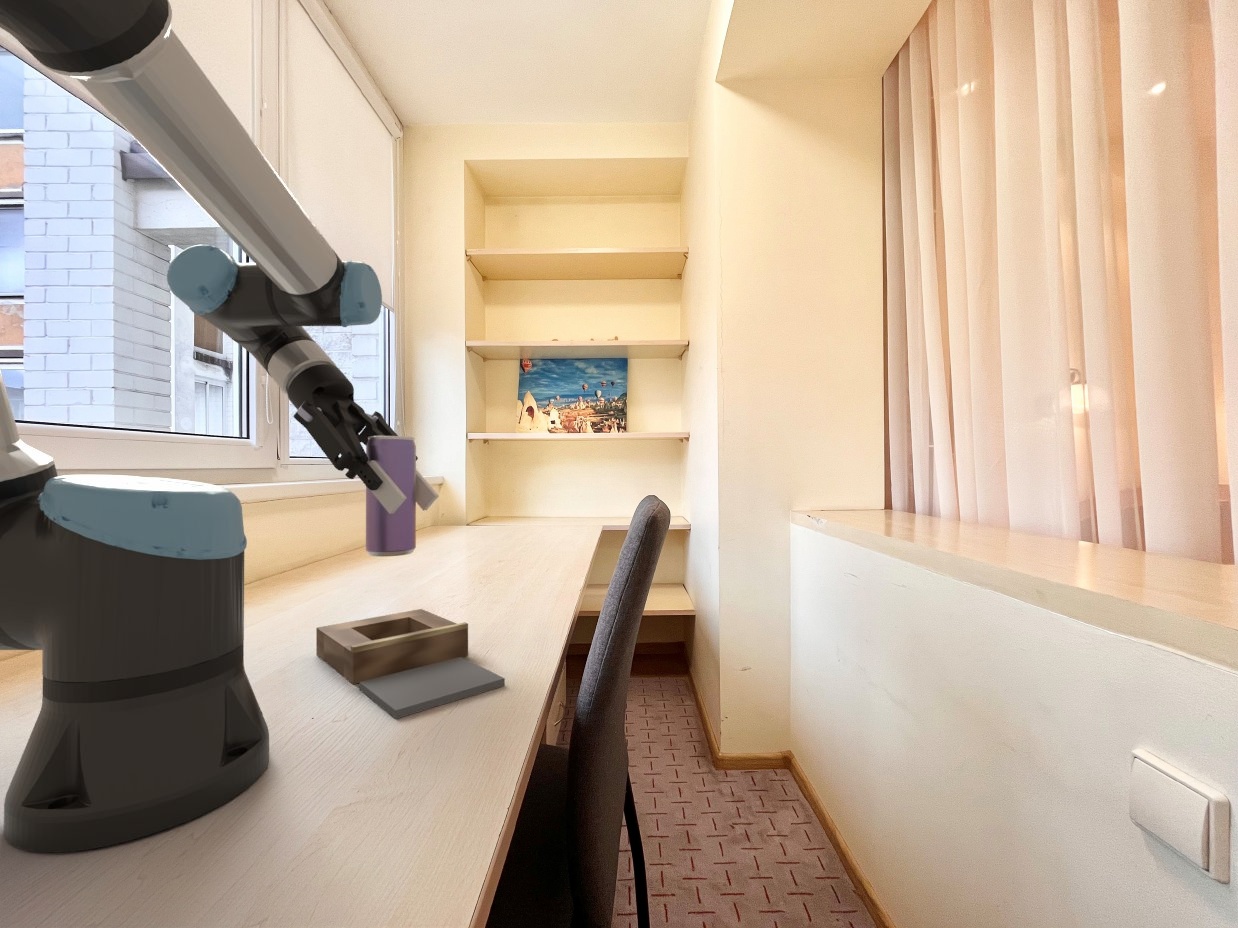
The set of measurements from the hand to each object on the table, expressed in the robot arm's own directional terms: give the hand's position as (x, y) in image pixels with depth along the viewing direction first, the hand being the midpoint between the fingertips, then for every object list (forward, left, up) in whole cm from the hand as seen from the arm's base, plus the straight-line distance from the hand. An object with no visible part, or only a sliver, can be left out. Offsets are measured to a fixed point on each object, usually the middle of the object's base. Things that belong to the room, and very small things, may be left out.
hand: (415, 504), depth 72 cm
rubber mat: (-3, -11, -19) cm, 22 cm away
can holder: (-2, +3, -19) cm, 20 cm away
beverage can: (-2, +3, -7) cm, 7 cm away
